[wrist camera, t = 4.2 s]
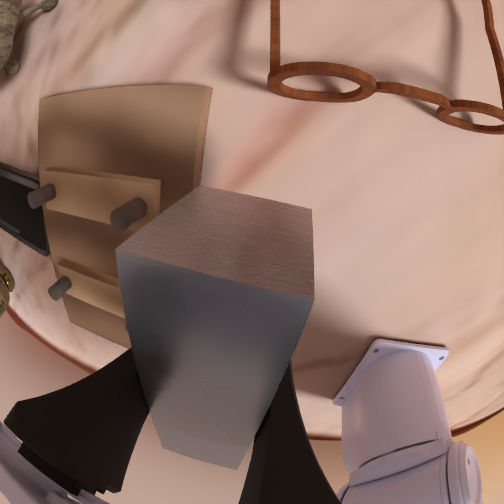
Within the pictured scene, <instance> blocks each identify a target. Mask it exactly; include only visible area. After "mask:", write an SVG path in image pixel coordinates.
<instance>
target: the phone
mask: <svg viewBox="0 0 504 504" xmlns="http://www.w3.org/2000/svg"><path fill="white" fill-rule="evenodd" d="M38 188H40V177H39V176H36V175H33V174H31V173H28V172H25V171H22V170H20V169H17V168H14V167H11V166H9V165H6V164H3V163H1V162H0V228H2V229H3V230H5V231H6V232H8V233H9V234H11V235H12V236H13V237H15V238H16V239H18V240H19V241H21V242H22V243H24V244H26V245H27V246H29V247H30V248H32V249H33V250H35V251H37V252H38V253H40V254H41V255H43V256H45V257H46V256H48V255H50V254H51V252H50V247H49V242H48V237H47V232H46V226H45V220H44V213H43V206H42V205H41V206H39V207H37V208H35V209H32V208H31V207H30V205H29V203H28V194H29V193H30V192H32V191H34V190H36V189H38Z"/></svg>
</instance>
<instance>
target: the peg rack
mask: <svg viewBox="0 0 504 504" xmlns="http://www.w3.org/2000/svg"><path fill="white" fill-rule="evenodd" d="M211 94H212V88H211V87H207V86H198V85H138V86H122V87H111V88H101V89H93V90H85V91H79V92H73V93H67V94H61V95H56V96H51V97H47V98H42V99H40V103H39V120H38V159H39V177H40V188H38V189H36V190H34V191H32V192H30V193H29V194H28V203H29V205H30V207H31V208H32V209H35V208H37V207H39V206H41V205H42V206H43V213H44V220H45V226H46V232H47V237H48V242H49V247H50V252H51V257H52V261H53V265H54V269H55V273H56V277H57V282H56V283H55V284H53V285H52V286H51V287H50V288H49V289H48V292H49V295H50V296H51V298H52V299H54V300H55V301H57V300H58V299H59V298H60V297H61V296H62V298H63V301H64V304H65V307H66V310H67V313H68V316H69V319H70V322H72V323H74V324H76V325H78V326H80V327H82V328H84V329H86V330H88V331H90V332H92V333H95V334H97V335H99V336H101V337H103V338H105V339H108V340H110V341H112V342H114V343H117V344H119V345H121V346H124V347H126V348H128V349H130V348H131V343H130V338H129V334H128V329H127V324H126V319H125V314H124V308H123V302H122V296H121V290H120V284H119V276H118V269H117V261H116V251H115V249H116V248H117V247H118V246H120V245H121V244H122V243H123V242H124V241H126V240H127V239H128V238H129V237H131V236H132V235H133V234H135V233H136V232H137V231H138V230H140V229H141V228H142V227H144V226H145V225H146V224H147V223H149V222H150V221H151V220H153V219H154V218H155V217H157V216H158V215H159V214H161V213H162V212H163V211H165V210H166V209H168V208H169V207H170V206H172V205H173V204H174V203H176V202H177V201H179V200H180V199H181V198H183V197H184V196H186V195H187V194H189V193H190V192H191V191H193V190H194V189H196V188H197V187H199V186H200V180H201V170H202V161H203V153H204V144H205V136H206V129H207V121H208V114H209V107H210V101H211Z"/></svg>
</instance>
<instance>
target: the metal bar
mask: <svg viewBox="0 0 504 504" xmlns="http://www.w3.org/2000/svg"><path fill="white" fill-rule="evenodd" d="M115 251H116V261H117V269H118V276H119V284H120V290H121V296H122V302H123V308H124V314H125V319H126V324H127V329H128V334H129V338H130V343H131V347H132V351H133V355H134V359H135V363H136V367H137V371H138V375H139V378H140V382H141V385H142V389H143V392H144V395H145V398H146V402H147V405H148V408H149V411H150V414H151V417H152V420H153V422H154V425H155V428H156V431H157V433H158V436H159V438H160V441H161V444H162V446H163V448H165V449H168V450H171V451H173V452H176V453H179V454H182V455H185V456H188V457H191V458H194V459H197V460H201V461H204V462H208V463H211V464H216V465H219V466H223V467H227V468H231V469H236V470H237V468H238V466H239V465H240V463H241V461H242V459H243V458H244V456H245V454H246V452H247V450H248V448H249V446H250V444H251V442H252V441H253V438H254V437H255V435H256V433H257V431H258V429H259V427H260V425H261V423H262V421H263V419H264V417H265V415H266V412H267V410H268V408H269V406H270V404H271V402H272V400H273V398H274V396H275V393H276V391H277V389H278V387H279V385H280V382H281V380H282V378H283V376H284V373H285V371H286V369H287V366H288V364H289V362H290V359H291V357H292V355H293V352H294V350H295V347H296V345H297V343H298V340H299V338H300V335H301V333H302V330H303V328H304V325H305V323H306V320H307V317H308V315H309V312H310V309H311V307H312V304H313V301H314V253H313V226H312V209H308V208H304V207H300V206H295V205H291V204H287V203H282V202H278V201H273V200H269V199H264V198H259V197H254V196H250V195H245V194H240V193H235V192H230V191H224V190H219V189H214V188H208V187H203V186H199V187H197V188H196V189H194V190H193V191H191V192H190V193H189V194H187V195H186V196H184V197H183V198H181V199H180V200H179V201H177V202H176V203H174V204H173V205H172V206H170V207H169V208H168V209H166V210H165V211H163V212H162V213H161V214H159V215H158V216H157V217H155V218H154V219H153V220H151V221H150V222H149V223H147V224H146V225H145V226H144V227H142V228H141V229H140V230H138V231H137V232H136V233H135V234H133V235H132V236H131V237H129V238H128V239H127V240H126V241H124V242H123V243H122V244H121V245H120V246H118V247H117V248H116V249H115Z"/></svg>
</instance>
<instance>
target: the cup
mask: <svg viewBox="0 0 504 504" xmlns="http://www.w3.org/2000/svg"><path fill="white" fill-rule="evenodd" d="M14 287H15V284H14V280H13V278H12V276H11V274H10V272H9V271H8V270H7V269H6V268H0V317H1V316H2V314H3V313H4V312H5V310H6V308H7V307H8V304H9V299H10V296H9V292H12V291H13V289H14Z"/></svg>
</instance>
